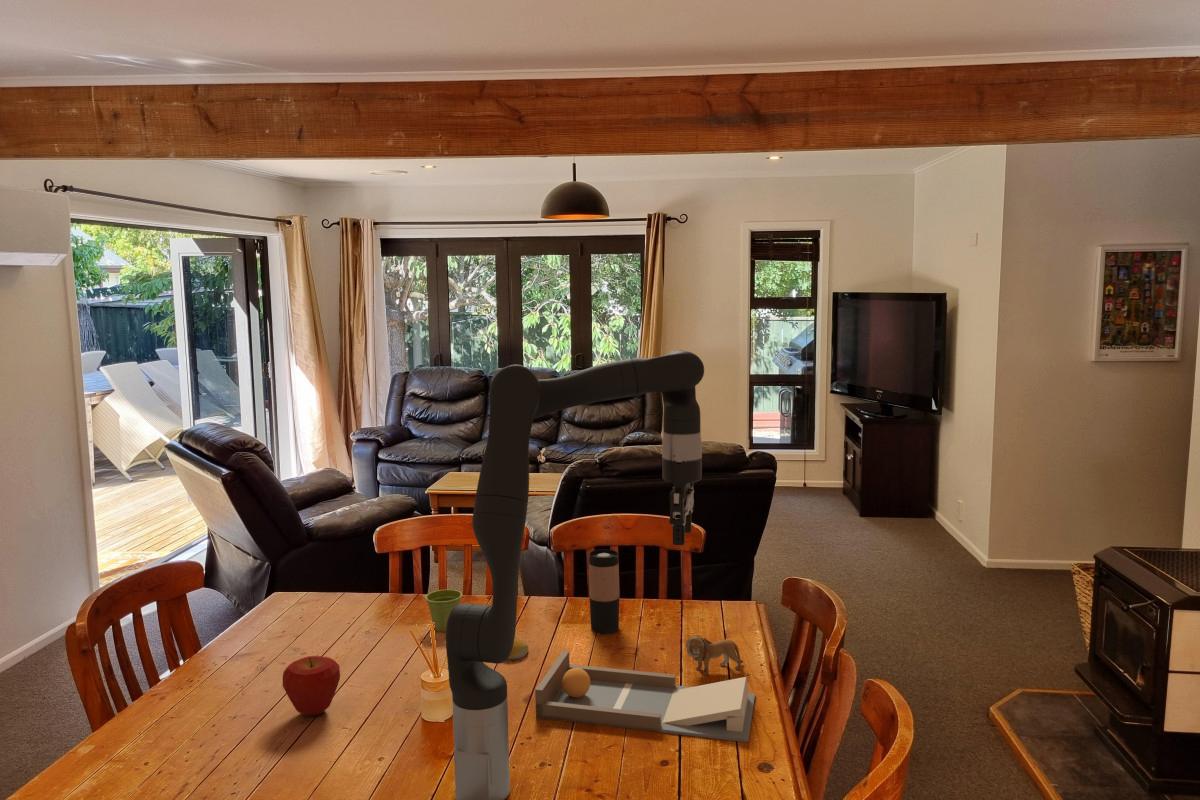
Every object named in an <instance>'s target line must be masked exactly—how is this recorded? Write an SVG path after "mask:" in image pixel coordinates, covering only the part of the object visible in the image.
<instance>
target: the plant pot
mask: <svg viewBox="0 0 1200 800" xmlns="http://www.w3.org/2000/svg"><path fill="white" fill-rule="evenodd" d="M462 596H463V593H462V592H461V591H460V590H456V589H439V590H435V591H431V592H428V594H426V595H425V600H426V602H427V605H428V606H429V608H428V609H429V612H430V617H431V623H432V622H435V629H434V631H436V630H437V631H436V632H446V625H447V620H448V617H449V614H450V612H451V611H452V609H453V608H454V607H455V606H456V605H458V604H460V602H461V598H462Z"/></svg>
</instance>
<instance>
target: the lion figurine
mask: <svg viewBox="0 0 1200 800" xmlns="http://www.w3.org/2000/svg"><path fill="white" fill-rule="evenodd" d="M685 648H686V652H687V655H688V657H690V658H692V659H693V661H695V662H697V666H696V667H695V670H696V671H701V670H702V668H703V666H704V668H703V669H704V670H703V671H702V674H703V675H705V676H706V675H709V672H710V670H709V664H710V660H713V659H717V658H720V657H721V656H722V655H723V658H724V660H723V662H720V663H719V666H721V667H725V666H726V665H727V664H728V663H729V661H730V660H732V661H733V662H735V663H736V664H737V665H736V666H735V670H737V671H740V670H741V669H742V664H743V663H744V661H743V660H742V659H741V656H740V655H741V654H740V648H739V647H738V645H737V644H736V643H735V641H733V640H730V639H722V640H719V641H718V640H717V641H713V642H711V641H709V640H708V639H707V638H704V637H701V636H700V635H691V636H689V637H688V639H687V640H686V644H685Z"/></svg>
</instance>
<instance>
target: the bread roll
mask: <svg viewBox="0 0 1200 800" xmlns="http://www.w3.org/2000/svg"><path fill="white" fill-rule="evenodd" d="M528 651H529V645H528V643H527V642H526V641H525V640H524V639H521V638H519V637H518V636H516V635H515V638H514V644H513V648H512V651H511V654H510V656H509V658H508V659H507V660H506V661H508V660H509V661H510V660H518V659H521V658H524V657H525V656H526V655H527V654H528Z"/></svg>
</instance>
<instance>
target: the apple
mask: <svg viewBox="0 0 1200 800" xmlns="http://www.w3.org/2000/svg"><path fill="white" fill-rule="evenodd" d="M340 679H341V669H340V664H339V663H338V662H337V661H336V660H334V659H333V658H331V657H328V656H323V655H309V656H305V657H302V658H299V659H297V660H295V661H292V662H291V663H289V665H288V666H287V667H286V668H285V669H284V670H283V672H282V687H283V689H284V691H285V693H286V696H287V697H288V699H289V700H290V703H291V704H292V705H293V707H294V708H295V710H296V711H297V712H298V713H300V714H301V715H303V716H306V717H317V716H319V715H321V714H322V713H324V712H325V711H326V710H327V709H328V708H330V706H331V704H332V702H333V699H334V696H335V693H336V691H337V688H338V685H339V682H340Z"/></svg>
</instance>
